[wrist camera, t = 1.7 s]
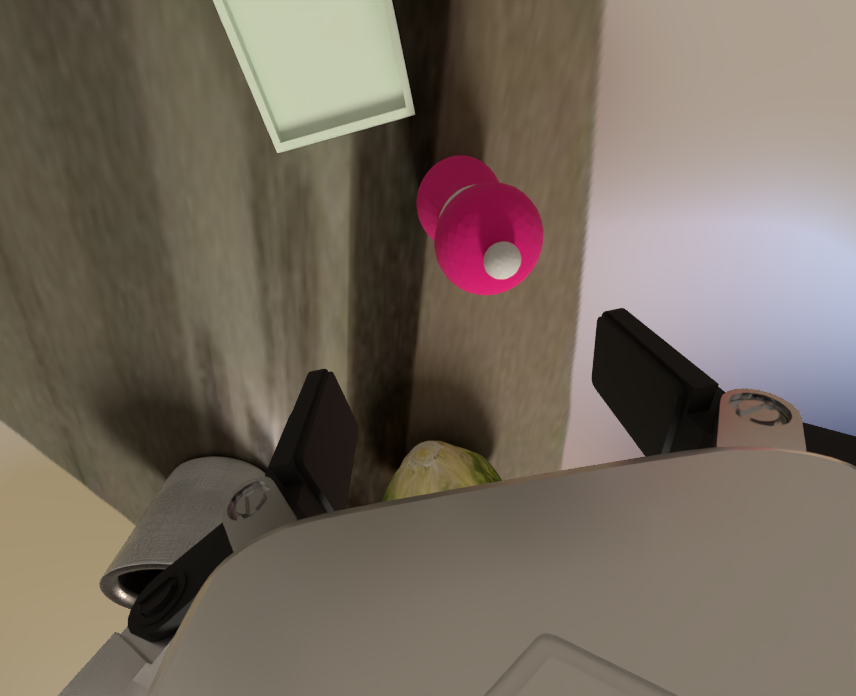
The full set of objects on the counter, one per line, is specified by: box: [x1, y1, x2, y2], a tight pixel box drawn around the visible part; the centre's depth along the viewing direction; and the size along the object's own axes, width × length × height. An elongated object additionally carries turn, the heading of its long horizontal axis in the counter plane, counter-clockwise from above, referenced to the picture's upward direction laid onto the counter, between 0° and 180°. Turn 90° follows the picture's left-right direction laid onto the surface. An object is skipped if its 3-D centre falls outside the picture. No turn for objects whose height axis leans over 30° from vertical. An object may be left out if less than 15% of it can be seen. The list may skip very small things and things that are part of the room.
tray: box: [213, 0, 415, 153], centre depth 24 cm, size 12×12×2 cm
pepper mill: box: [417, 155, 543, 295], centre depth 23 cm, size 7×7×20 cm
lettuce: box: [382, 441, 502, 502], centre depth 47 cm, size 19×23×18 cm
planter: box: [100, 456, 266, 609], centre depth 47 cm, size 16×16×16 cm
